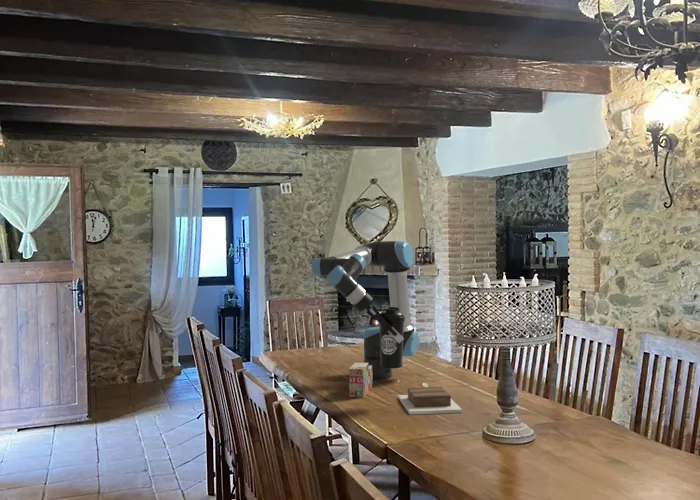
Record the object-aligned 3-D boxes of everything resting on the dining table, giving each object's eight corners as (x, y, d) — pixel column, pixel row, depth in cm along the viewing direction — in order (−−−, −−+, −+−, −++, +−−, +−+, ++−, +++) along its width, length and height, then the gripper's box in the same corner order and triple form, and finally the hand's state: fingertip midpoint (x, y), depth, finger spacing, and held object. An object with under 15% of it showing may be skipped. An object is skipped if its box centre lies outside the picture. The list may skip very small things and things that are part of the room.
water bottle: (374, 367, 247) (375, 308, 246) (383, 362, 256) (383, 305, 256) (399, 369, 243) (400, 310, 242) (407, 364, 253) (407, 307, 252)
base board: (398, 398, 261) (398, 395, 261) (445, 396, 263) (445, 393, 263) (409, 414, 237) (409, 411, 237) (461, 412, 239) (461, 409, 239)
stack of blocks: (359, 385, 284) (359, 358, 284) (373, 385, 283) (372, 358, 283) (348, 397, 263) (348, 368, 263) (363, 398, 262) (363, 368, 262)
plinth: (407, 398, 256) (407, 388, 256) (441, 396, 258) (441, 387, 258) (414, 407, 242) (414, 397, 242) (450, 406, 244) (450, 395, 244)
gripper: (350, 302, 259) (389, 340, 261) (355, 308, 237) (397, 350, 239) (363, 289, 259) (401, 327, 261) (369, 294, 237) (411, 336, 239)
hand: (399, 338), depth 250 cm, fingers closed on water bottle, 9 cm apart
